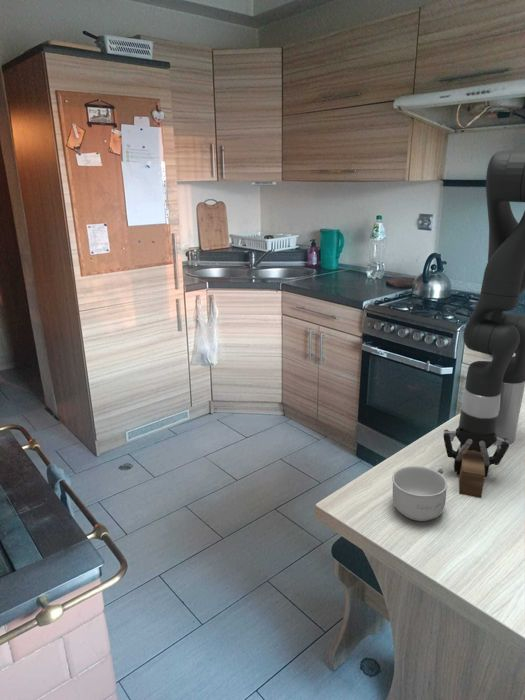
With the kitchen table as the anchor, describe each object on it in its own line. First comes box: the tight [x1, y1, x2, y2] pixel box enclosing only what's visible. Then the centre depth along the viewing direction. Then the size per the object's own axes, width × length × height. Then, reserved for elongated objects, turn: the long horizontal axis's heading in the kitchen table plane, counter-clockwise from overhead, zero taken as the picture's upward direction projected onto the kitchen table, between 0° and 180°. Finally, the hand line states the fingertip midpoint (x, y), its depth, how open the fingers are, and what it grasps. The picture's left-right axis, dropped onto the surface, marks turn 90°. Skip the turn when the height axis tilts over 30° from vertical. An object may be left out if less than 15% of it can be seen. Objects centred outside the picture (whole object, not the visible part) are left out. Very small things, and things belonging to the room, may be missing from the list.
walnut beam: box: [458, 450, 486, 499], centre depth 113 cm, size 14×4×6 cm, turn 160°
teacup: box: [391, 465, 449, 522], centre depth 103 cm, size 14×11×8 cm
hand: (469, 474), depth 114 cm, fingers closed on walnut beam, 4 cm apart
